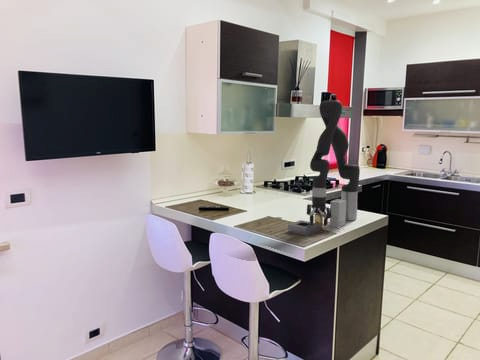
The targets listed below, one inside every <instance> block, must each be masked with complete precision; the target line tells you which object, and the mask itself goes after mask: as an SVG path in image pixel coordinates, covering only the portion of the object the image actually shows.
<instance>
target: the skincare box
mask: <svg viewBox="0 0 480 360" xmlns="http://www.w3.org/2000/svg"><path fill="white" fill-rule="evenodd" d="M329 207H331V218H329V227H331V228H332V227H333V228H338V229H340V228H341V227H344V226H345V225H346V221H347V220H346V200H342V199H341V198H336V199H333V200H331V201H330V206H329Z"/></svg>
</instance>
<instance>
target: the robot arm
mask: <svg viewBox="0 0 480 360" xmlns="http://www.w3.org/2000/svg"><path fill="white" fill-rule="evenodd" d="M342 111H343V105H342V102H341V101H340V100H338V99H337V100H334V99H333V100H324V101H321V103H320V104H319V114H320V117H321V120H322V122H323V124H324V126H325V129H324V130H323V131H322V133H321V134H320V135H319V137H318V140H317V145H316V149H315V152H314V154H313V156H312V158H311V160H310V162H309V167H310V170H311V171H312V172H315V173H316V172H317V173H319V174H318V175H316V176H313V179H312V190H311V191H312V193H311V203H308V204H307V205H306V215H308V216H309V222H312V223H315V214H316V213H318V214H321V215H322V216H323V226H325V227H326V226H327V225H328V223H329V222H328V220H330V218H331V207H330V206H329V207H327V206H326V205H327V178H328V174H329V172H330V169H331V165H330V164H331V163H330V162H329V160H327V159H324V158H323V157H325V156H329V154H330V151H331V147H332V150H333V153H334V156H335V160H336V165H337V169H338V174H339V176H340V178H341V179H343V180H349V181H348V183H347V184H343V185H342V186H341V196H340V197H341V198H340V199H342V200H346V221H356V220H357V216H358V188H359V183H360V175H361V174H360V173H361V172H360V166H359V165H357V164H354V163H353V164H352V163H347V160H346V155H347V152H348V150H349V140H348V136H347V134H346V132H345V131H344V130H343V129H342V127H340V125H338V124H339V121H340V119H341V116H342Z"/></svg>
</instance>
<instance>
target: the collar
mask: <svg viewBox="0 0 480 360" xmlns="http://www.w3.org/2000/svg"><path fill="white" fill-rule="evenodd" d="M287 232H288V233H291V234H296V235H301V236H304V237H309V236H311V235H313V234H316V233H318V232H320V230H319V224H317V223H315V222H313V223H312V222H310V221H305V220H298V221H295V222H291V223H289V224H287Z"/></svg>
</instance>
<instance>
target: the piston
mask: <svg viewBox="0 0 480 360" xmlns="http://www.w3.org/2000/svg"><path fill="white" fill-rule="evenodd" d="M314 223H317V224H319V231H321V230H323V226H324V217H323V216H322V215H321V214H318V213H315V214H314Z"/></svg>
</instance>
